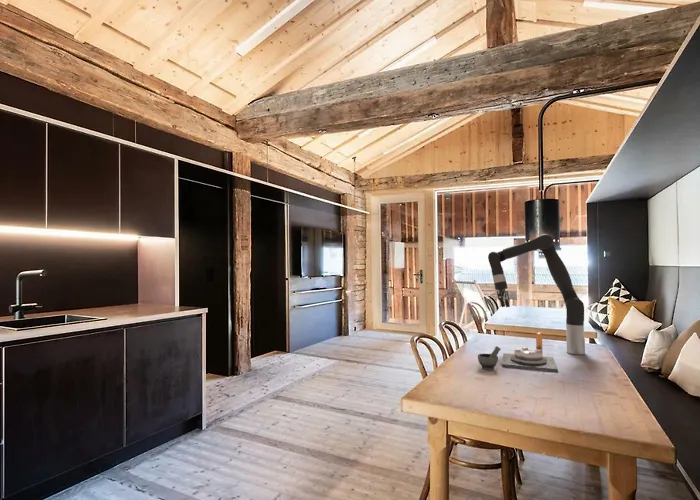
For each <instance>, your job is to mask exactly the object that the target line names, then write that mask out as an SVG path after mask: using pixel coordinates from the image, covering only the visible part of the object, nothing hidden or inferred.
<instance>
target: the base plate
mask: <svg viewBox="0 0 700 500" xmlns="http://www.w3.org/2000/svg"><path fill="white" fill-rule="evenodd" d="M501 363H502V364H501V365H502V368H509V369H510V368H511V369H520V370H530V371H542V372H551V373H559V369H558V366H557V363H556V361H555V358H554V357H553V356H544V355H543V359H542V360H536V361H532V360H523V359H519V358H516V357H515V356H514V353H505V352H504V353H503V354H502V362H501Z"/></svg>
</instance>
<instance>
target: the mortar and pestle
mask: <svg viewBox="0 0 700 500" xmlns="http://www.w3.org/2000/svg"><path fill="white" fill-rule="evenodd" d="M500 351H501V348H500V347H499V346H495V347H494V349H493V351H492V352H491V353H478V355H477V360H478V364H479V365H481V370H483V371H486V370H487V372H493V370H494V371H495V366H496V365H497V364H498V362H499V360H498V359H499V356H498V354H499V352H500Z"/></svg>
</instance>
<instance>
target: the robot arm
mask: <svg viewBox="0 0 700 500" xmlns="http://www.w3.org/2000/svg"><path fill="white" fill-rule="evenodd" d="M537 250H540V251H541V253H542V254H543V256H544V258H545V262H546V265H547V268H548V270H549V273H550V275H551V277H552V280H553V281H554V283H555V285H556V286H557V288H558V290H559V291H560V293H561V296H562V298H563V301H564V305H565V307H566V309H565V312H566V319H565V322H566V324H565V327H566V332H565V334H566V337H565V338H566V353H568V354H572V355H586V338H585V303H584V302H583V301H582V300H581V299H580V297H579V296H578V295H577V293H576V290H575V288H574V286H573V283H572V279H571V276H570V273H569V271H568V269H567V266H566V265H565V264H564V261H563V260H562V258H561V257H560V256H559V254H558V252H557V249H556V247H555V244H554V238H553V237H552V235H550V234H547V233H546V234H545V233H542V234H540V235H539V236H538V237H536V238H534V239H531V240H529V241H526V242H522V243H519V244H515V245H512V246H509V247H506V248H503V249H502V250H501V251H498V252H497V251H491V252H489V253H488V255H487V256H488V257H487V258H488V259H487V260H488V263H489V266H490V270H491V274H492V279H493V284H494V289H495V291H496V295H497V299H498V301H499V302H500V307H501V308H505V307H506V308H510V302H509V301H510V300H511V299H510V295H509V292H508V290H506V289H508V287H509V286H508V283H507V279H506V276H505V273H504V268H503V266H502V262H504V261H507V260H509V259H512V258H516V257H518V256H521V255H524V254H526V253H529V252H533V251H537Z"/></svg>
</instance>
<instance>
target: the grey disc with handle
mask: <svg viewBox="0 0 700 500" xmlns="http://www.w3.org/2000/svg"><path fill="white" fill-rule="evenodd" d="M535 348H536V349H532V348H529V347H528V346H521V348H514V350H513V351H514V353H513V354H514V356H515V357H516V358H519V359H523V360H532V361H536V360H542V359H543V356H544V355H543V353H544V352H543V333H542V332H535Z"/></svg>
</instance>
